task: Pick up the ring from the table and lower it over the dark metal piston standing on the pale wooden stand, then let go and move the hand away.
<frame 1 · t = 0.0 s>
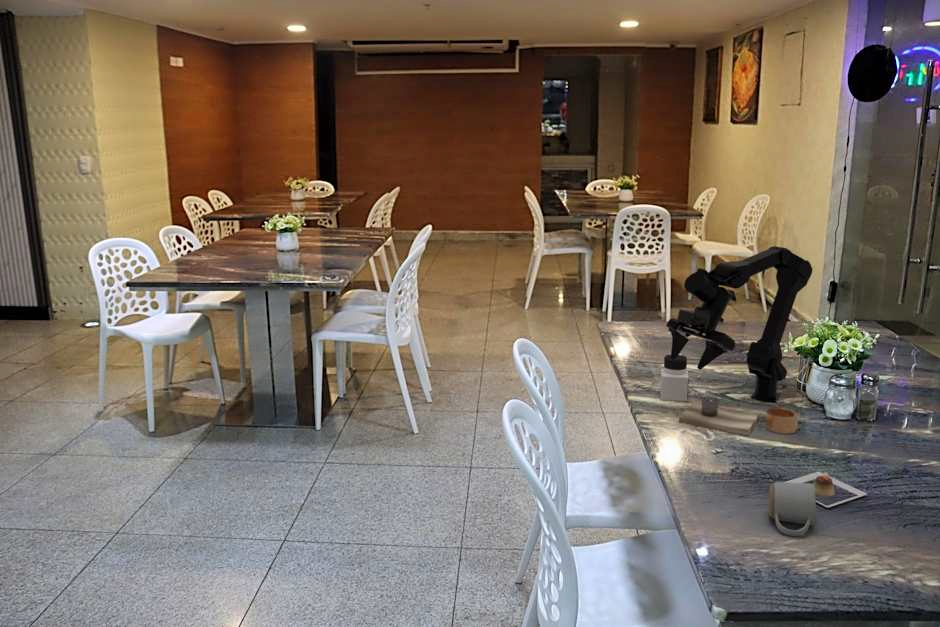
hand: (685, 364, 200), 15 cm above the table, tool tilted 35°, fingers open, 9 cm apart
piston stand: (718, 421, 202), on the table
medicine bottle: (673, 397, 220), on the table
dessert: (822, 494, 165), on the table
piston: (709, 413, 203), resting on piston stand
ceramic mug: (792, 524, 152), on the table
ring: (780, 428, 197), on the table
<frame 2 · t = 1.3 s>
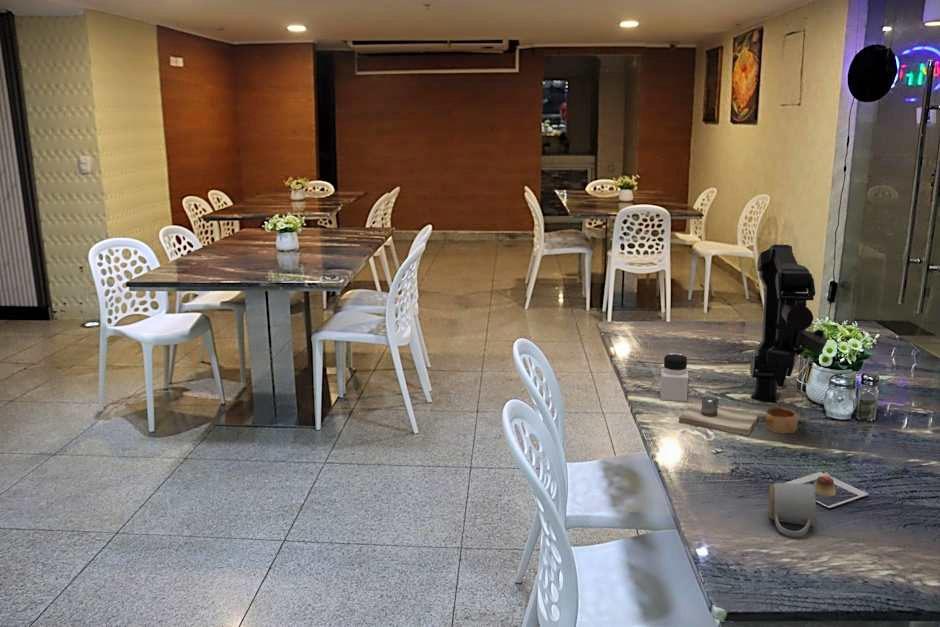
hand: (784, 381, 194), 12 cm above the table, tool pointing down, fingers open, 9 cm apart
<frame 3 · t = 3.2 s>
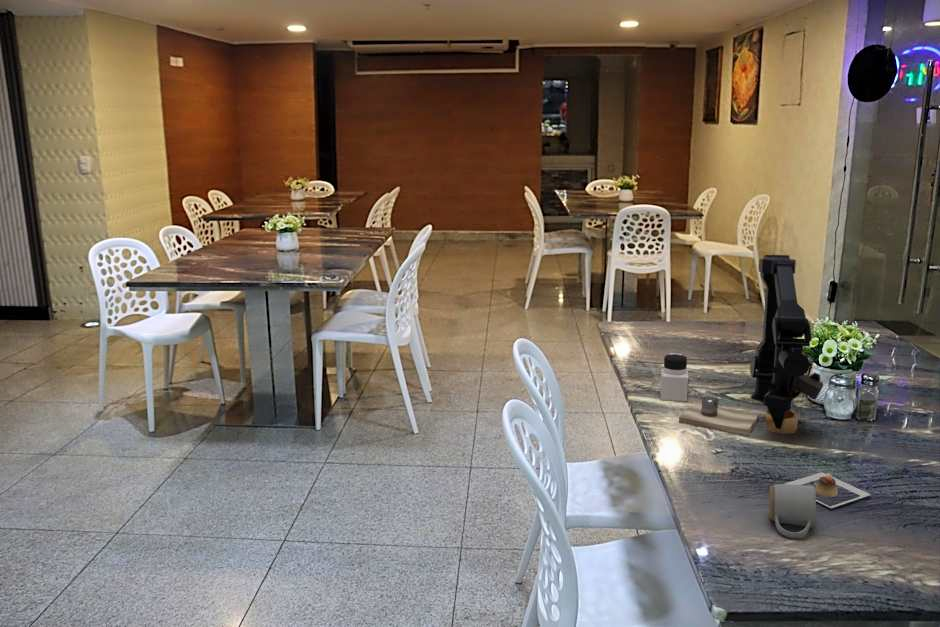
hand: (781, 423, 197), 1 cm above the table, tool pointing down, fingers closed on ring, 7 cm apart
ring: (780, 428, 197), on the table, touching gripper
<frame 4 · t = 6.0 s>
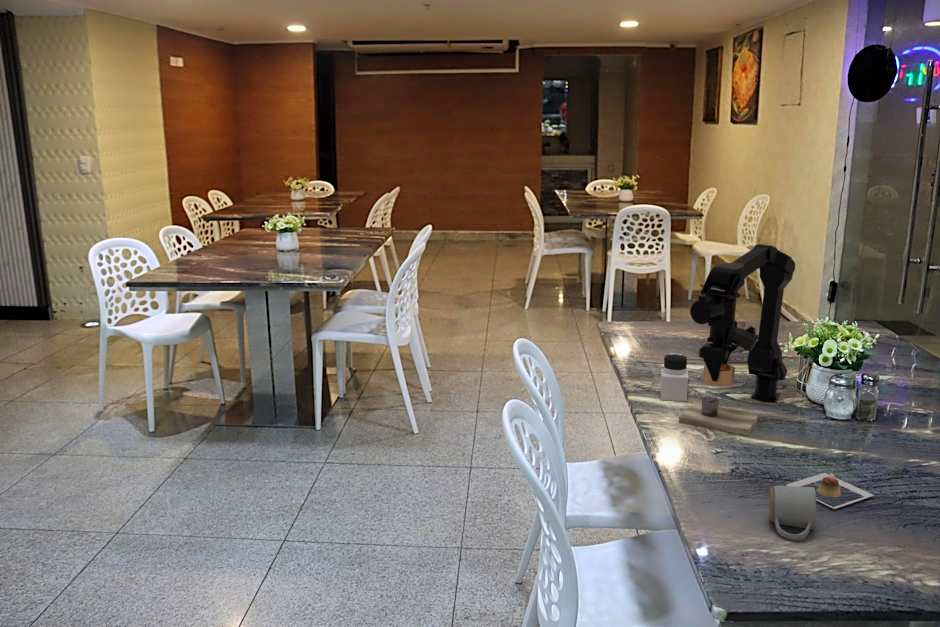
hand: (718, 377, 200), 12 cm above the table, tool pointing down, fingers closed on ring, 7 cm apart
ring: (718, 381, 200), point 10 cm above the table, touching gripper
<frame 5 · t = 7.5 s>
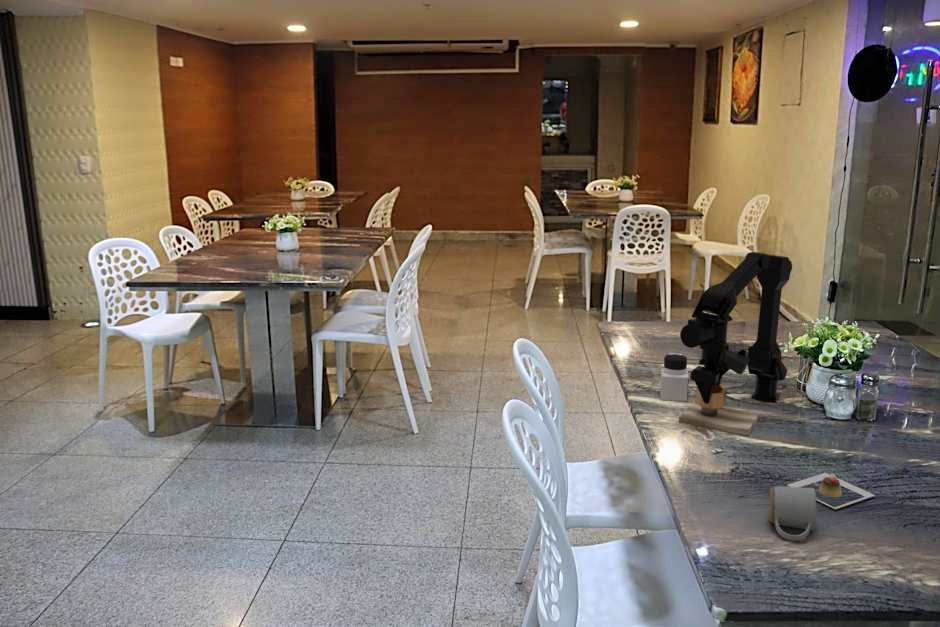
hand: (710, 398, 202), 6 cm above the table, tool pointing down, fingers closed on ring, 7 cm apart
ring: (710, 403, 202), point 4 cm above the table, touching gripper
when the fingers open (4 cm above the table, at t = 8.8 s): ring drops 1 cm, resting on piston stand.
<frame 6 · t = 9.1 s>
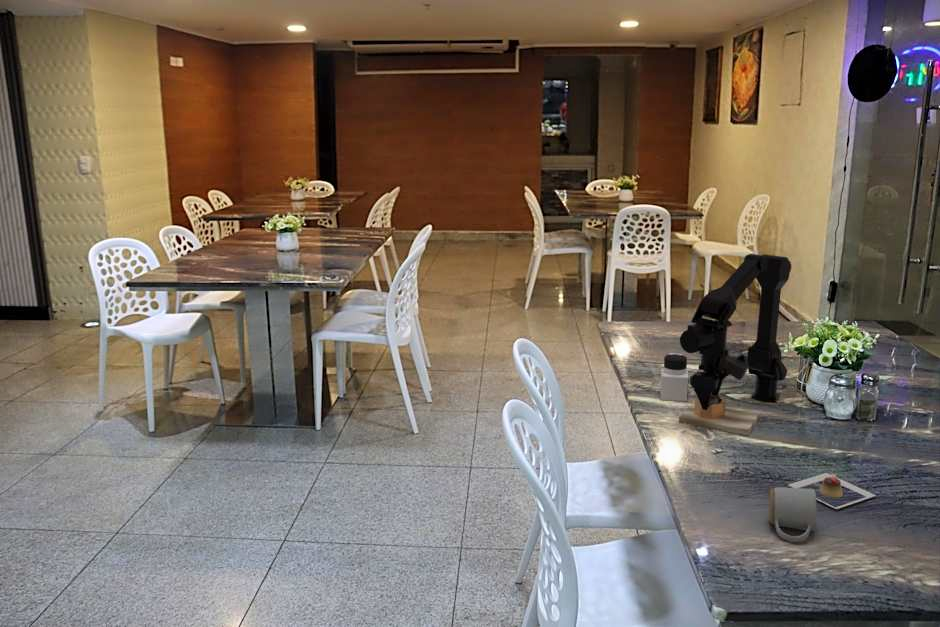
hand: (710, 404, 202), 4 cm above the table, tool pointing down, fingers open, 9 cm apart
ring: (709, 413, 203), point 1 cm above the table, touching piston stand
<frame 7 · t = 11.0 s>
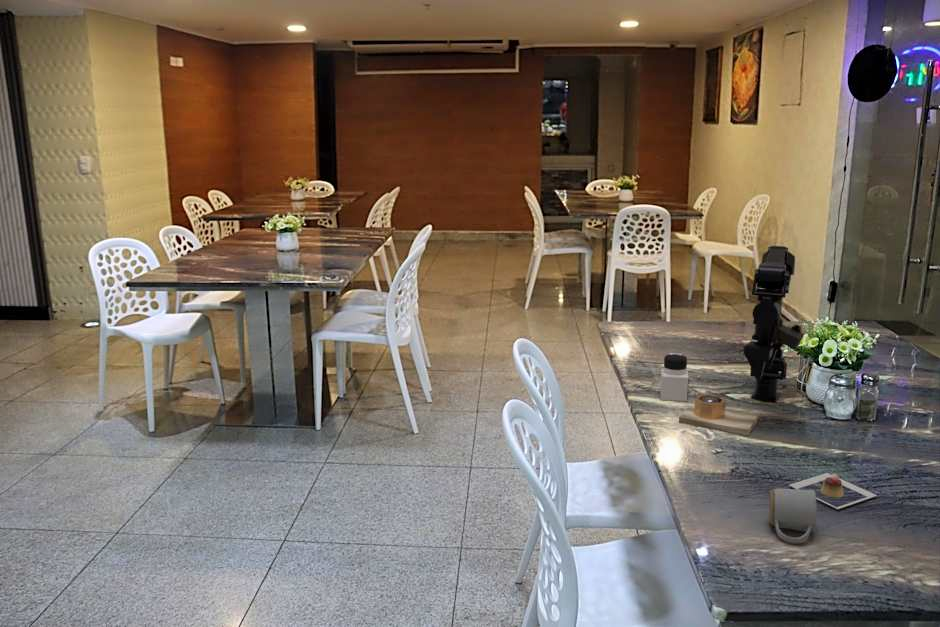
hand: (763, 374, 201), 12 cm above the table, tool pointing down, fingers open, 9 cm apart
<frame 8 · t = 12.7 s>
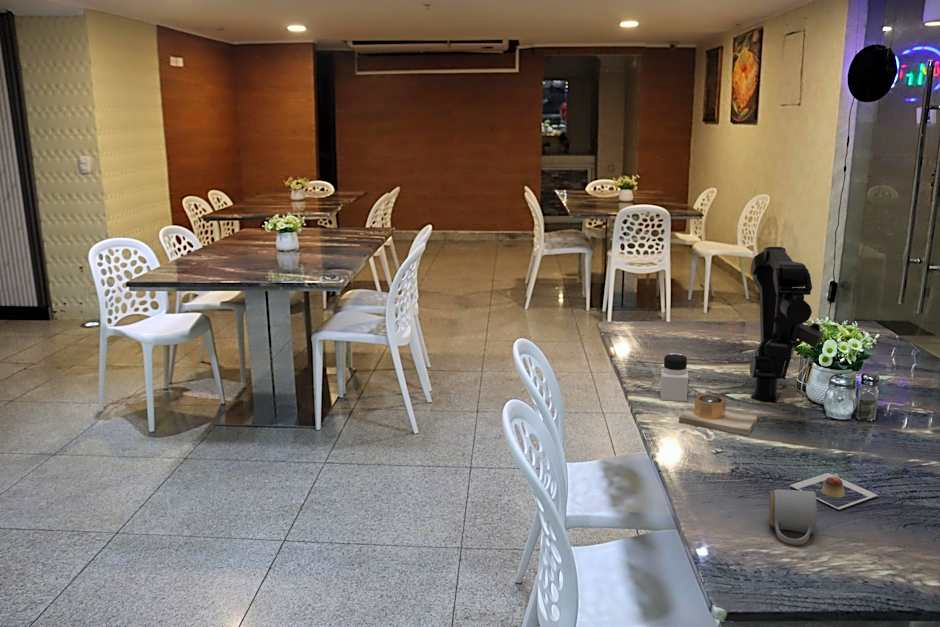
hand: (782, 373, 201), 12 cm above the table, tool pointing down, fingers open, 9 cm apart
at the end: ring 0.0 cm off-centre on the piston, point 0.0 cm above the piston's base; the gripper is holding nothing; ring tilted 0° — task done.
